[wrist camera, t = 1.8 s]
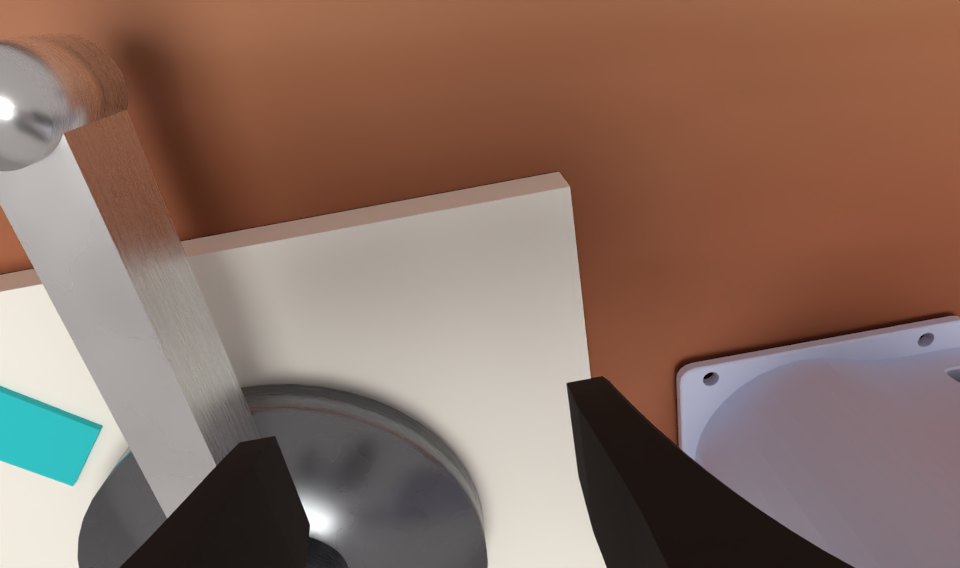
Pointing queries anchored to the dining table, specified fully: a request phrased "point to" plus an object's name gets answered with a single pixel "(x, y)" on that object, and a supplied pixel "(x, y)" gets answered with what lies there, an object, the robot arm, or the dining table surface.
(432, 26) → the dining table surface
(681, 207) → the dining table surface
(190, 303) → the crank handle
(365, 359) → the base board
